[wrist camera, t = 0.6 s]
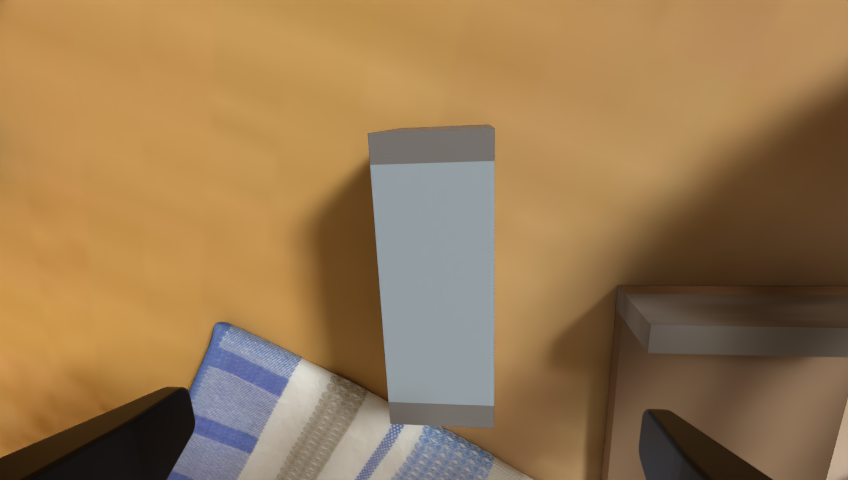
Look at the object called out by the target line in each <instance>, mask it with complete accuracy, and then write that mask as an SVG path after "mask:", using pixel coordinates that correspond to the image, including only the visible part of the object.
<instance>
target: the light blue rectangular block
mask: <svg viewBox="0 0 848 480" xmlns="http://www.w3.org/2000/svg"><path fill="white" fill-rule="evenodd" d="M368 144H369V157H370V170H371V183H372V196H373V209H374V222H375V234H376V247H377V260H378V273H379V286H380V299H381V312H382V324H383V337H384V350H385V363H386V376H387V389H388V402H389V414H390V424H404V425H427V426H449V427H471V428H494V165H495V128H494V127H492V126H490V125H468V126H445V127H421V128H399V129H393V130H386V131H380V132H374V133H368Z"/></svg>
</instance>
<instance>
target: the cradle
mask: <svg viewBox="0 0 848 480" xmlns="http://www.w3.org/2000/svg"><path fill="white" fill-rule="evenodd" d="M847 399H848V286H618V289H617V301H616V312H615V324H614V336H613V347H612V359H611V370H610V382H609V393H608V405H607V417H606V428H605V440H604V451H603V463H602V474H601V480H646V478H645V475H644V471H643V468H642V465H641V461H640V457H639V438H640V430H641V422H642V415H643V413H644V411H645V410H646V409H666V410H670V411H672V412H673V413H675V414H676V415H678V416H679V417H681V418H682V419H684V420H685V421H687V422H688V423H690V424H691V425H693V426H694V427H696V428H697V429H699V430H700V431H702V432H703V433H705V434H706V435H708V436H709V437H711V438H712V439H713V440H715V441H716V442H718V443H719V444H721V445H722V446H724V447H725V448H727V449H728V450H730V451H731V452H733V453H734V454H736V455H737V456H739V457H740V458H742V459H743V460H745V461H746V462H748V463H749V464H751V465H752V466H754V467H755V468H757V469H758V470H760V471H761V472H763V473H764V474H765V475H767V476H768V477H770V478H771V479H773V480H826V478H827V474H828V470H829V467H830V463H831V459H832V455H833V451H834V448H835V444H836V440H837V436H838V433H839V429H840V425H841V421H842V418H843V414H844V410H845V406H846V402H847Z"/></svg>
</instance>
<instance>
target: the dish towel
mask: <svg viewBox="0 0 848 480" xmlns="http://www.w3.org/2000/svg"><path fill="white" fill-rule="evenodd" d="M189 393H190V397H191V402H192V406H193V411H194V415H195V421H196V423H195V429H194V432H193V434H192V436H191V438H190V440H189V441H188V443H187V445H186V447H185V449H184V450H183V452H182V454H181V456H180V457H179V459H178V461H177V463H176V465H175V466H174V468H173V470H172V472H171V473H170V475H169V477H168V479H167V480H534V479H532V478H531V477H529V476H527V475H525V474H523V473H521V472H520V471H518V470H516V469H514V468H513V467H511V466H509V465H508V464H506V463H504V462H502V461H501V460H499V459H497V458H495V457H494V456H492V455H491V454H490V453H489V452H487V451H485V450H483V449H481V448H479V447H478V446H477V445H475V444H473V443H471V442H469V441H467V440H466V439H464V438H462V437H459V436H458V435H456V434H454V433H453V432H451V431H449V430H446V429H444V428H442V427H441V426H427V425H404V424H390V414H389V402H388V401H386V400H384V399H382V398H380V397H379V396H377V395H375V394H373V393H371V392H370V391H368V390H367V389H365V388H363V387H361V386H359V385H358V384H356V383H354V382H352V381H350V380H348V379H346V378H344V377H342V376H340V375H336V374H334V373H332V372H330V371H328V370H326V369H324V368H322V367H320V366H317V365H315V364H313V363H311V362H309V361H307V360H306V359H304V358H302V357H300V356H298V355H296V354H294V353H292V352H290V351H288V350H286V349H284V348H282V347H280V346H278V345H276V344H274V343H271V342H269V341H267V340H265V339H263V338H261V337H259V336H256V335H254V334H252V333H250V332H248V331H246V330H244V329H241V328H239V327H236V326H234V325H231V324H229V323H226V322H218V323H216V324H215V326H214V330H213V334H212V338H211V341H210V345H209V347H208V350H207V352H206V354H205V357H204V359H203V362H202V364H201V366H200V368H199V370H198V372H197V375H196V377H195V379H194V382H193V384H192V386H191V389H190V391H189Z"/></svg>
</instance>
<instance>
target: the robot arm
mask: <svg viewBox="0 0 848 480" xmlns="http://www.w3.org/2000/svg"><path fill="white" fill-rule="evenodd" d="M195 423H196V421H195V415H194V411H193V406H192V402H191V397H190V393H189V391H188V390H187V389H186V388H183V387H165V388H162V389H160V390H157V391H155V392H153V393H150V394H148V395H146V396H143V397H141V398H139V399H137V400H134V401H132V402H130V403H127V404H125V405H123V406H120V407H118V408H116V409H113V410H111V411H109V412H106V413H104V414H102V415H99V416H97V417H95V418H92V419H90V420H88V421H85V422H83V423H81V424H78V425H76V426H74V427H71V428H69V429H67V430H64V431H62V432H60V433H57V434H55V435H53V436H50V437H48V438H46V439H43V440H41V441H39V442H36V443H34V444H32V445H30V446H27V447H25V448H23V449H20V450H18V451H16V452H13V453H11V454H9V455H6V456H4V457H2V458H0V480H167V479H168V477H169V475H170V473H171V472H172V470H173V468H174V466H175V465H176V463H177V461H178V459H179V457H180V456H181V454H182V452H183V450H184V449H185V447H186V445H187V443H188V441H189V440H190V438H191V436H192V434H193V432H194V429H195ZM639 457H640V461H641V465H642V468H643V471H644V475H645V478H646V480H773V479H771V478H770V477H768V476H767V475H765V474H764V473H763V472H761V471H760V470H758V469H757V468H755V467H754V466H752V465H751V464H749V463H748V462H746V461H745V460H743V459H742V458H740V457H739V456H737V455H736V454H734V453H733V452H731V451H730V450H728V449H727V448H725V447H724V446H722V445H721V444H719V443H718V442H716V441H715V440H713V439H712V438H711V437H709V436H708V435H706V434H705V433H703V432H702V431H700V430H699V429H697V428H696V427H694V426H693V425H691V424H690V423H688V422H687V421H685V420H684V419H682V418H681V417H679V416H678V415H676V414H675V413H673V412H672V411H670V410H666V409H646V410H645V411H644V413H643V415H642V422H641V430H640V438H639Z"/></svg>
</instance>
